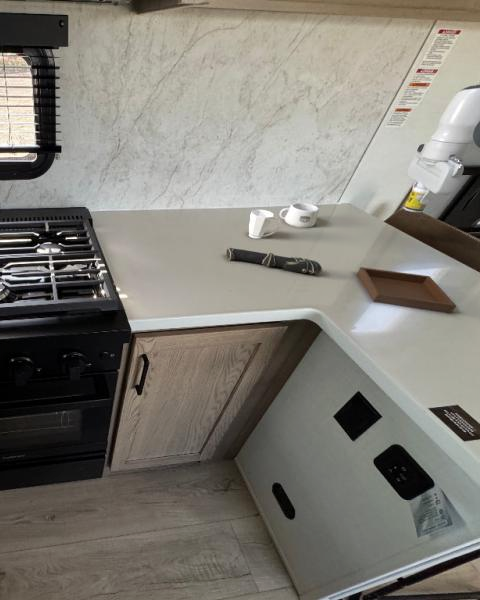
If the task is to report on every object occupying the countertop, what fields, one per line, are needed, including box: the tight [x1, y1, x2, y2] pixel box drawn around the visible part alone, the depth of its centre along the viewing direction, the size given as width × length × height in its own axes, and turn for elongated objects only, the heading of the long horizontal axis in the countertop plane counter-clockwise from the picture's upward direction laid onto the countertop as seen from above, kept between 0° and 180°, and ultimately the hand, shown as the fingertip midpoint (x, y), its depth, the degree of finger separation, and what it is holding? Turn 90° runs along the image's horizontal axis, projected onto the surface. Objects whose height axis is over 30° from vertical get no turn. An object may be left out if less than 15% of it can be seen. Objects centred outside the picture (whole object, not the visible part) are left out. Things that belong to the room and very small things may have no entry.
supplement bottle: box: [403, 181, 427, 213], centre depth 104 cm, size 5×5×8 cm
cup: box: [248, 209, 282, 240], centre depth 113 cm, size 7×10×8 cm
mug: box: [278, 202, 320, 228], centre depth 123 cm, size 12×10×6 cm
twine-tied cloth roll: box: [225, 247, 323, 275], centre depth 99 cm, size 4×5×25 cm
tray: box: [356, 266, 457, 314], centre depth 88 cm, size 16×14×2 cm
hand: (418, 199), depth 104 cm, fingers closed on supplement bottle, 5 cm apart
